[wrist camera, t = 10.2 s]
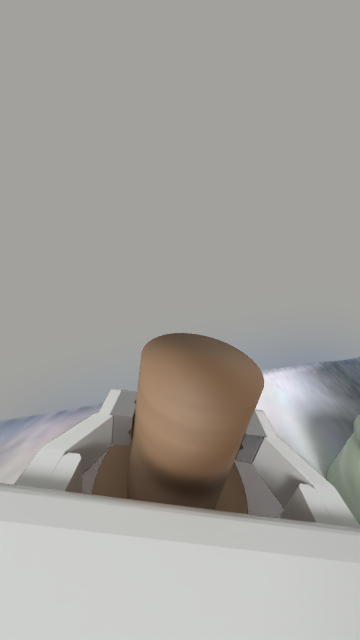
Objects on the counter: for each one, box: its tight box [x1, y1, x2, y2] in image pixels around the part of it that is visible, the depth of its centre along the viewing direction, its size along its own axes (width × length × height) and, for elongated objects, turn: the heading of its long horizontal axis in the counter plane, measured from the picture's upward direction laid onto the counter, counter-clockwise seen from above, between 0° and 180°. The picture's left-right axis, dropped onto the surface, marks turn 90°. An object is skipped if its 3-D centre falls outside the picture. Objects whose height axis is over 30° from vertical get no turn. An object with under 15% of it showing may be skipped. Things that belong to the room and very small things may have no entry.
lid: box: [92, 333, 264, 514], centre depth 9 cm, size 8×8×9 cm
